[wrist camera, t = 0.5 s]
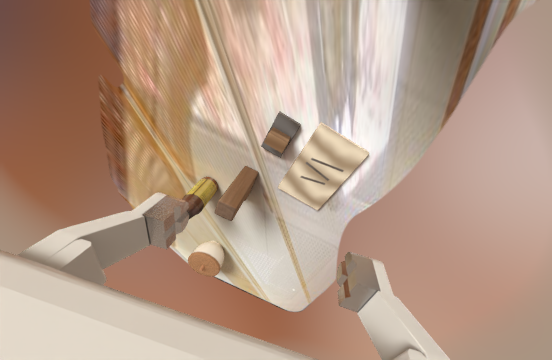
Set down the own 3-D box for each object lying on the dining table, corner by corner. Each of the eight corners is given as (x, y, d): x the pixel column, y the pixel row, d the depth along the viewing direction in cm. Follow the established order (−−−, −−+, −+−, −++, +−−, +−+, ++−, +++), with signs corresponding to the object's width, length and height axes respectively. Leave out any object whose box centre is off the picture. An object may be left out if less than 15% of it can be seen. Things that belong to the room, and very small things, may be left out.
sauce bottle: (201, 188, 66) (160, 230, 49) (201, 173, 63) (157, 212, 46) (219, 194, 66) (184, 238, 49) (220, 179, 62) (183, 220, 46)
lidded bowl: (194, 239, 81) (178, 262, 71) (217, 232, 76) (202, 256, 67) (212, 259, 85) (199, 283, 76) (234, 254, 80) (223, 279, 71)
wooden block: (249, 193, 63) (226, 233, 48) (237, 187, 63) (209, 226, 47) (259, 171, 58) (236, 208, 43) (245, 165, 58) (218, 200, 43)
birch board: (321, 122, 47) (320, 123, 46) (368, 151, 49) (369, 153, 47) (278, 185, 59) (277, 187, 58) (317, 207, 60) (317, 210, 59)
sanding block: (280, 111, 48) (274, 117, 42) (300, 123, 49) (297, 131, 43) (262, 143, 54) (255, 153, 48) (281, 154, 54) (276, 165, 48)
